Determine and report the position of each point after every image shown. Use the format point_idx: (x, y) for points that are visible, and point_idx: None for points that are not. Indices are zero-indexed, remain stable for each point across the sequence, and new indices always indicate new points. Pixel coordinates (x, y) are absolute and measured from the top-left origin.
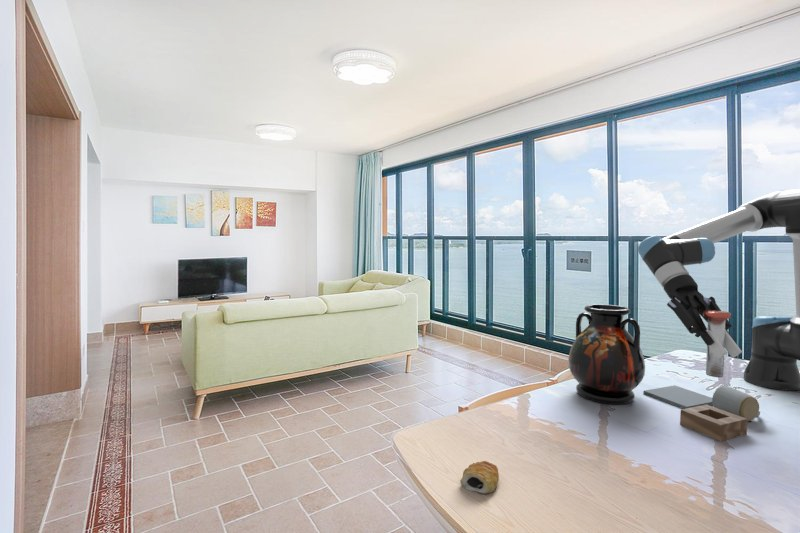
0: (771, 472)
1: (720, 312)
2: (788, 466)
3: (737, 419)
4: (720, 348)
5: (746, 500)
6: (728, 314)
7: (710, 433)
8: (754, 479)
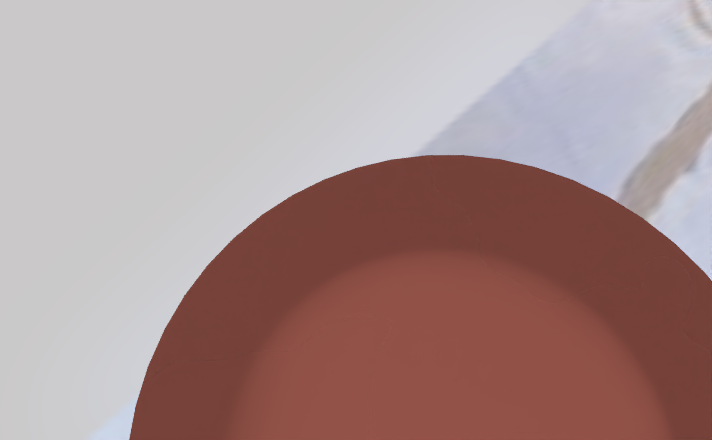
0: None
1: (385, 378)
2: None
3: None
4: None
5: (684, 37)
6: (362, 175)
7: None
8: (576, 124)
